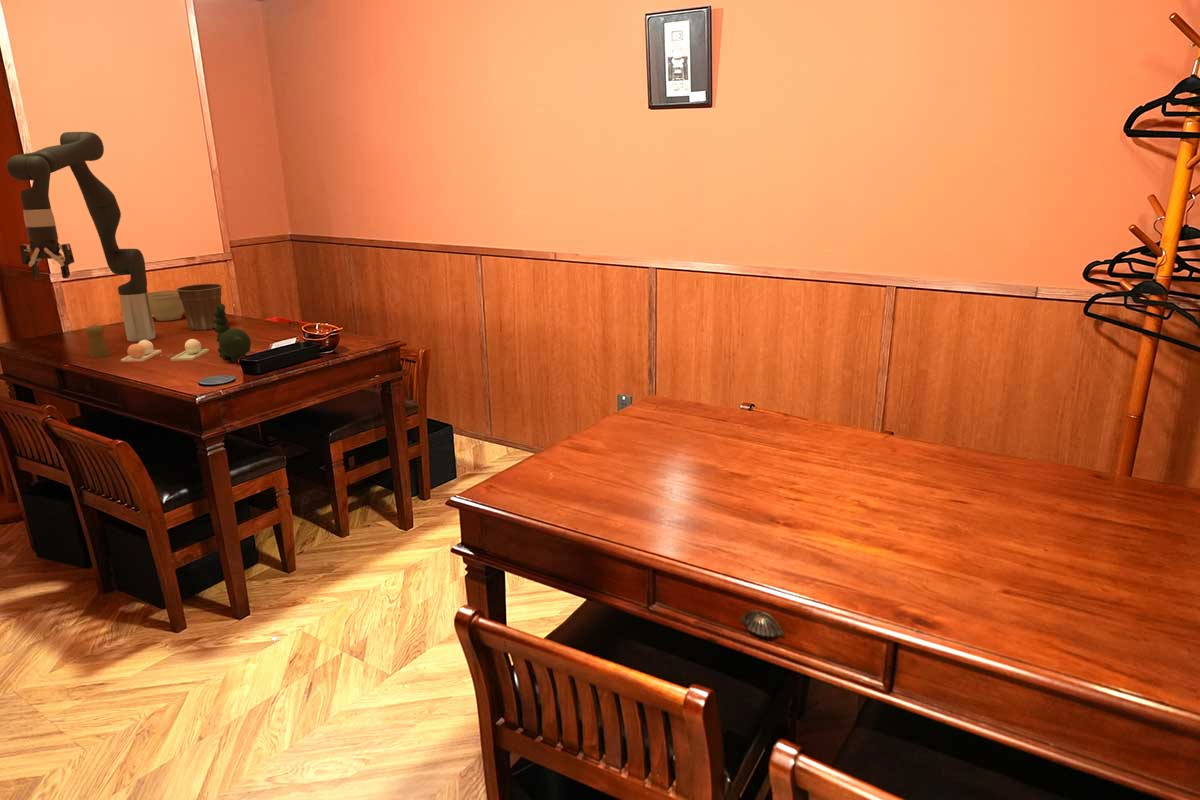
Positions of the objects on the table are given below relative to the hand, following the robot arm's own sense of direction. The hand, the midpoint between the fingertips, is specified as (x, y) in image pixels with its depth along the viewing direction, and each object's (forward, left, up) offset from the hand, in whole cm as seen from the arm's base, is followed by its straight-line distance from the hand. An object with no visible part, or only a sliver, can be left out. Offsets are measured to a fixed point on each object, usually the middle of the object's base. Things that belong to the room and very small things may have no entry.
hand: (51, 278), depth 249 cm
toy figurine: (-11, +47, -30) cm, 56 cm away
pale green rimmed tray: (-15, +31, -29) cm, 45 cm away
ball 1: (-12, +15, -29) cm, 35 cm away
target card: (-15, +23, -29) cm, 40 cm away
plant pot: (-65, +15, -30) cm, 73 cm away
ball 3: (-18, +31, -29) cm, 46 cm away
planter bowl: (-84, -8, -30) cm, 89 cm away
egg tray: (-15, +15, -29) cm, 36 cm away
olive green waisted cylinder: (-17, 0, -30) cm, 34 cm away
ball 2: (-18, +15, -29) cm, 37 cm away
